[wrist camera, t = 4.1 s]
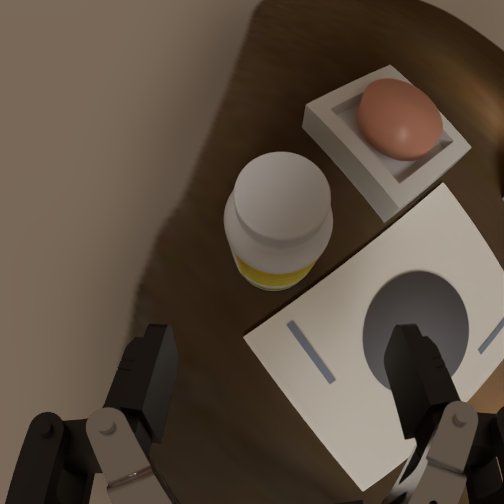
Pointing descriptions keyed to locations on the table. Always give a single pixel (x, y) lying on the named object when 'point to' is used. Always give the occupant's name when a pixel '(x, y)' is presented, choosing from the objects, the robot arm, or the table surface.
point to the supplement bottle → (278, 219)
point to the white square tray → (367, 157)
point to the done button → (399, 119)
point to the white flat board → (387, 331)
